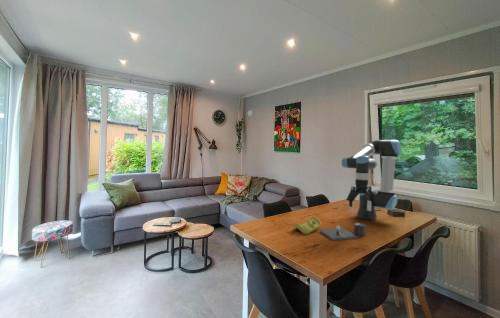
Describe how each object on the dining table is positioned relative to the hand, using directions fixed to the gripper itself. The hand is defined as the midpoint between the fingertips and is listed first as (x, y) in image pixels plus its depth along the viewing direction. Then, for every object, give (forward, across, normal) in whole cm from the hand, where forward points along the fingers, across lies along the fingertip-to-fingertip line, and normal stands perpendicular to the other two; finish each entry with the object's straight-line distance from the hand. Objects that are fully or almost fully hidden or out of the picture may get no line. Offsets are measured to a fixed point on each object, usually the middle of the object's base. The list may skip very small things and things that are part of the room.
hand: (360, 211), depth 151 cm
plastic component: (+16, +30, -15) cm, 37 cm away
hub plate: (+16, +15, -2) cm, 22 cm away
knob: (+16, 0, 0) cm, 16 cm away
